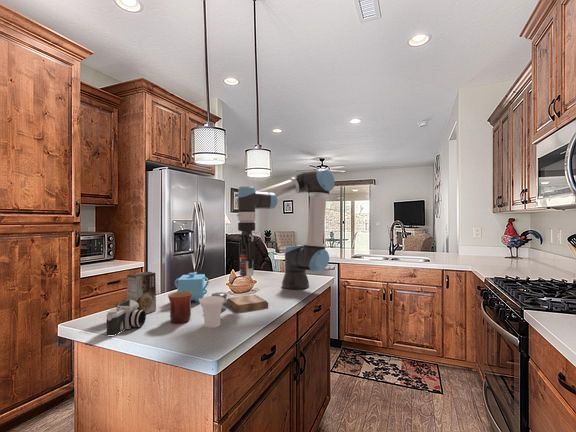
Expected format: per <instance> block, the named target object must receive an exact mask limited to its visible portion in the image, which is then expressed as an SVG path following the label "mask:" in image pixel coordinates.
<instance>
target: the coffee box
mask: <svg viewBox="0 0 576 432" xmlns="http://www.w3.org/2000/svg"><path fill="white" fill-rule="evenodd" d="M126 279H127V281H126V285H127V286H126V287H127V288H126V289H127V292H126V294H127V300H126V301H128V300H132V301H133V300H134V301H135V302H137V303H138V304H139V307H138V310H144V311H145V313H146V314H150V313H153V312H156V311H157V293H156V291H157V289H156V288H157V287H156V286H157V285H156V283H157V282H156V272H152V271H148V270H147V271H141V272H136V273H131V274H130V273H129V274H127V275H126Z"/></svg>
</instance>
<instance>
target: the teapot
mask: <svg viewBox="0 0 576 432" xmlns="http://www.w3.org/2000/svg"><path fill="white" fill-rule="evenodd" d="M209 283H210V280H209V279H208V277H206V275H205V273H200V274H199V273H198V271H194V272H188V274H182V275H181V276H180V277H178V278H176V279H175V281H174V286H175V288H177V290H176V292H182V291H187V292H192V293H193V294H192V298H191V301H194V303H199V304H200V302H199V298H200V299H201V298H204V297H205V295H206V294H207V293H208V289H206V288H207V287H208V286H209Z"/></svg>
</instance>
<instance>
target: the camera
mask: <svg viewBox="0 0 576 432" xmlns="http://www.w3.org/2000/svg"><path fill="white" fill-rule="evenodd" d="M138 307H139V304H138V303H137V302H135V301H134V300H133V301H132V300H128V301H127V300H126V301H123V302H119V303H117V304H116V307H115V308H111V309H110V310H109V311H108V312H107V314H106V320H105V321H106V336H107V335H115V334H118V333H119V332H121V331H123V330H124V329H129V330H130V329H132V328H141V327H143V326H144V324H145V322H146V319H147V315H146V313H145V311H144V310H138ZM131 327H132V328H131ZM123 332H124V331H123Z"/></svg>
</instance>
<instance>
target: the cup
mask: <svg viewBox="0 0 576 432" xmlns="http://www.w3.org/2000/svg"><path fill="white" fill-rule="evenodd" d="M223 302H224V298H223V297H220V296H212V295H211V296H210V295H209V296H203V298H201V299H200V298H199V304H200V306H201V308H202V312H203V319H204V324H203V325H204V327H205V328H210V329H211V328H216V327H219V326H220V325H221V313H222V311H221V309H222V305H223Z"/></svg>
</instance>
